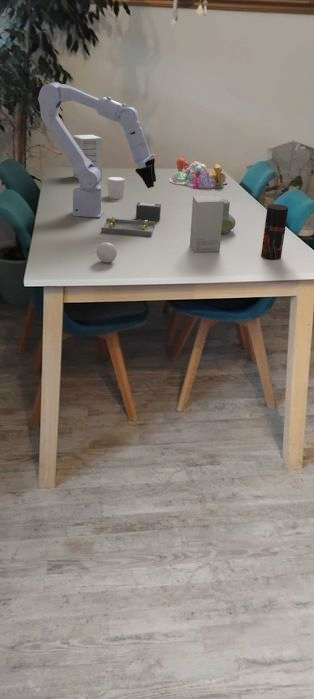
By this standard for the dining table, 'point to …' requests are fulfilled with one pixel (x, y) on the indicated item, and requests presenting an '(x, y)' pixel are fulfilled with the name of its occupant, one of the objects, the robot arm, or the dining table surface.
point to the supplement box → (90, 149)
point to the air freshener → (227, 218)
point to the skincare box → (206, 223)
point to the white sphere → (106, 252)
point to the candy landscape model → (198, 175)
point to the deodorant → (274, 231)
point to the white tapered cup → (116, 187)
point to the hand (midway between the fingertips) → (152, 184)
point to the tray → (128, 227)
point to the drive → (148, 211)
